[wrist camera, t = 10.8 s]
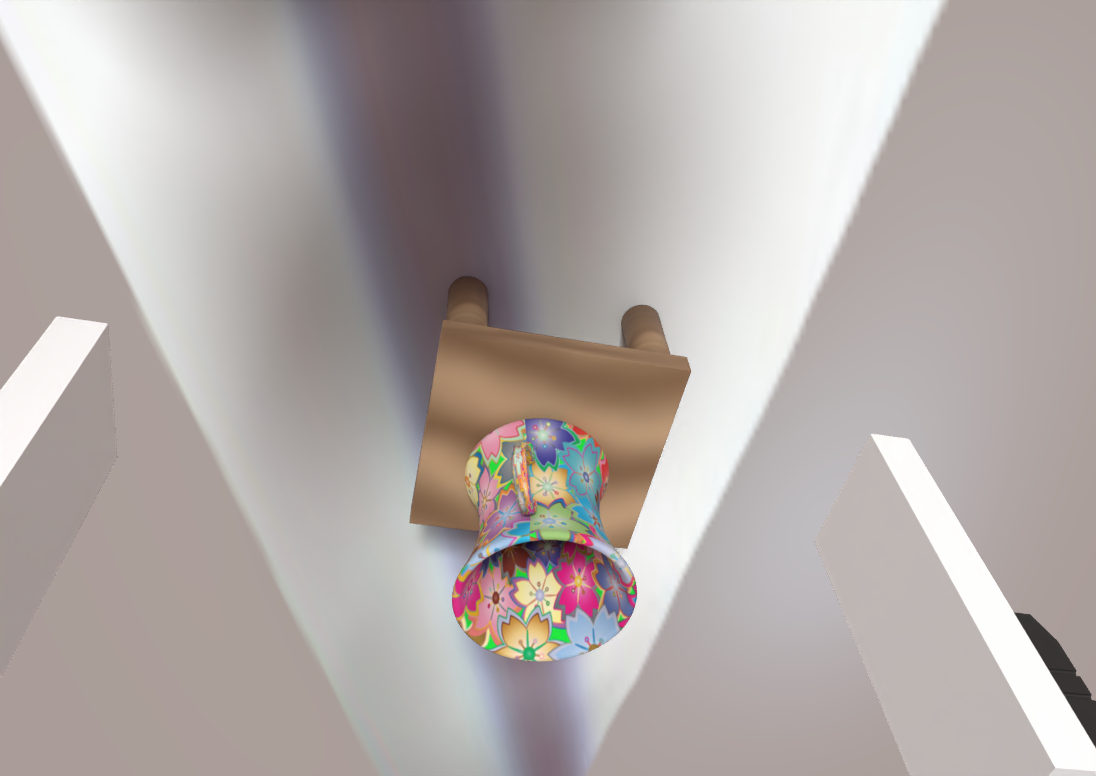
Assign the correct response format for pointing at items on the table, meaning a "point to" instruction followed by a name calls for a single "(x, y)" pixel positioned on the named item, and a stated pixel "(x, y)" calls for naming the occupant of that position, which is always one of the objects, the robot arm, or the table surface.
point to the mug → (541, 546)
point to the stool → (545, 404)
